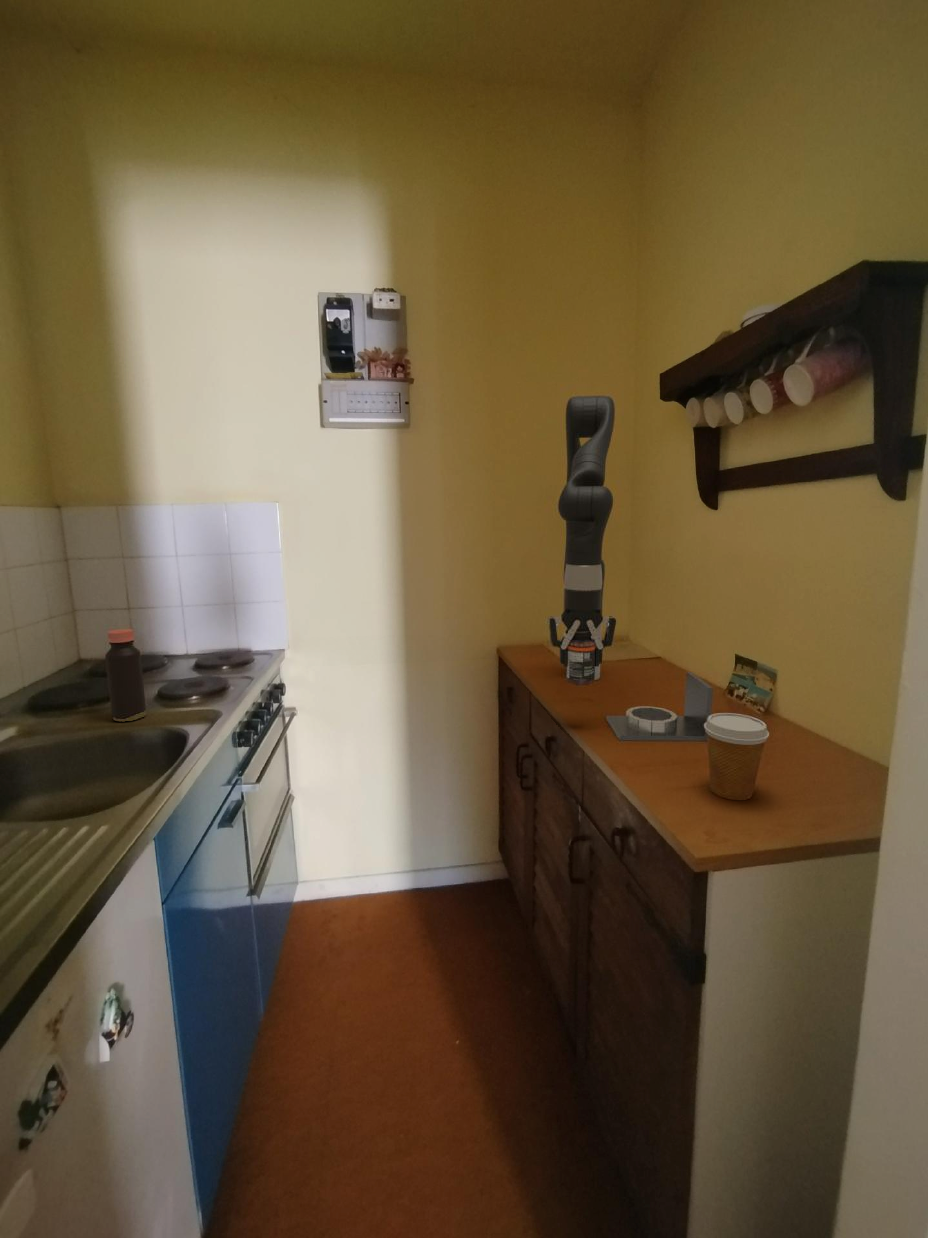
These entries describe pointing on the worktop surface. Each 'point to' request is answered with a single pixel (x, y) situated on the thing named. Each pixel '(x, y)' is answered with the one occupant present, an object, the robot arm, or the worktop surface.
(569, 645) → the supplement bottle
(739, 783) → the disposable coffee cup
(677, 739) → the cup bracket
